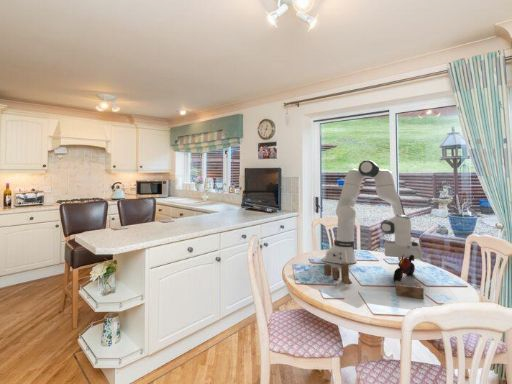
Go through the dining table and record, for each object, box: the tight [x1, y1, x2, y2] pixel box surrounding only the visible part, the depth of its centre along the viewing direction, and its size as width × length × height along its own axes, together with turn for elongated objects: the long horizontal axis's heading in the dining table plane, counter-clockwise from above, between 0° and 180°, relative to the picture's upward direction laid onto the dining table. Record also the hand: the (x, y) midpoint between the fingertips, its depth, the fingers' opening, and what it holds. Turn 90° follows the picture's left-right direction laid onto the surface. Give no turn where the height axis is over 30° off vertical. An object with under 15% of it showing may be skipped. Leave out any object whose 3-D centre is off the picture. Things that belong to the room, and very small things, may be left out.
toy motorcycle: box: [392, 254, 416, 283], centre depth 156 cm, size 25×5×16 cm, turn 129°
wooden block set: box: [323, 262, 353, 285], centre depth 153 cm, size 18×9×10 cm, turn 36°
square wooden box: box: [395, 281, 424, 300], centre depth 135 cm, size 11×11×5 cm
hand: (402, 264), depth 164 cm, fingers closed
